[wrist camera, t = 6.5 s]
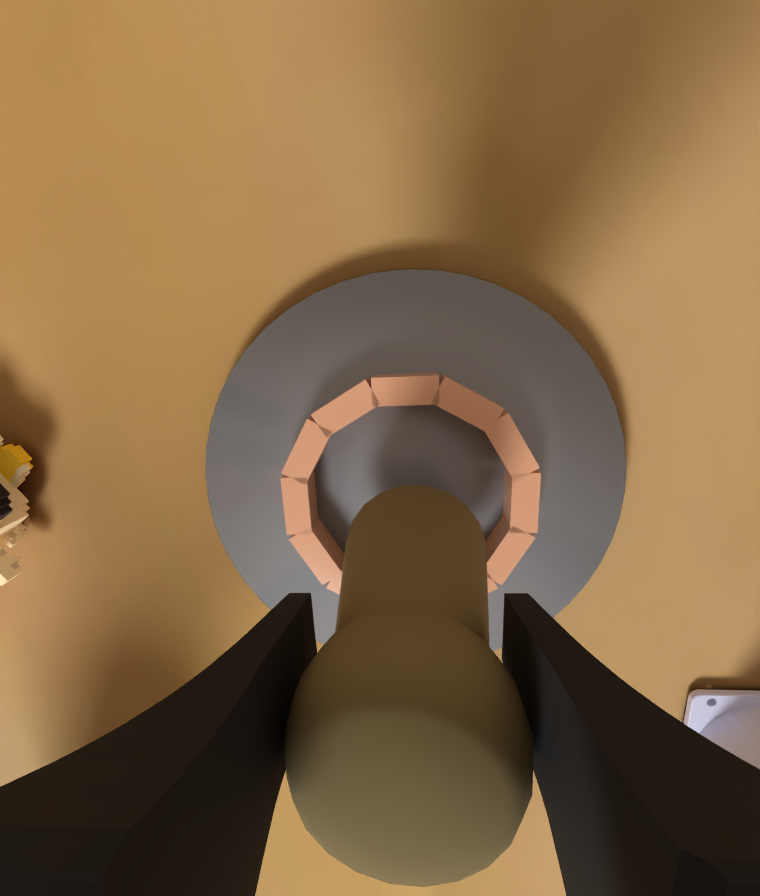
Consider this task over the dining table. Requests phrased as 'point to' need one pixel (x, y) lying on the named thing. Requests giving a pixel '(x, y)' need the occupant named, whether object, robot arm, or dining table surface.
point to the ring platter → (415, 436)
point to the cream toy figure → (12, 505)
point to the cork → (411, 704)
